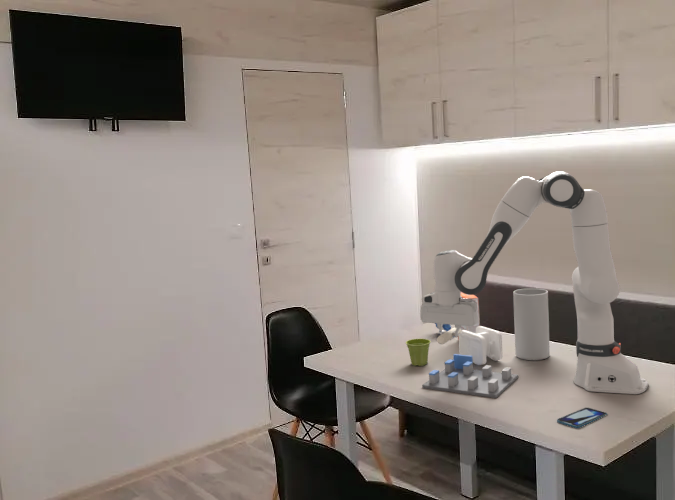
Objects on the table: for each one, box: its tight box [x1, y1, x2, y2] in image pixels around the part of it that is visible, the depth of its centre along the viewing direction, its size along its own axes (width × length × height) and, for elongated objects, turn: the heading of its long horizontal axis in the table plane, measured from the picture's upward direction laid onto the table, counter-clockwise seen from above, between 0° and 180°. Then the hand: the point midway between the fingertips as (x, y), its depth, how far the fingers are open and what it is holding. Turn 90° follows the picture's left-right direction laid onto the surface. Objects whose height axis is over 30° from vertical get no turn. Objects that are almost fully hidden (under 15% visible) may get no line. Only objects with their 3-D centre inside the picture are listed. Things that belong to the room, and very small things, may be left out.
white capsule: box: [436, 326, 461, 345], centre depth 231 cm, size 16×3×3 cm, turn 147°
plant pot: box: [405, 338, 432, 367], centre depth 254 cm, size 9×9×9 cm
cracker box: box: [457, 292, 481, 341], centre depth 275 cm, size 14×6×21 cm, turn 6°
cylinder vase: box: [512, 287, 550, 361], centre depth 253 cm, size 12×12×25 cm
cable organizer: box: [458, 325, 503, 366], centre depth 252 cm, size 15×11×12 cm
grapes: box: [434, 323, 452, 334], centre depth 294 cm, size 12×7×12 cm, turn 24°
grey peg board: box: [421, 353, 519, 399], centre depth 229 cm, size 26×22×6 cm
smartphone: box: [556, 407, 608, 429], centre depth 192 cm, size 7×1×15 cm
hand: (449, 336), depth 231 cm, fingers closed on white capsule, 3 cm apart
